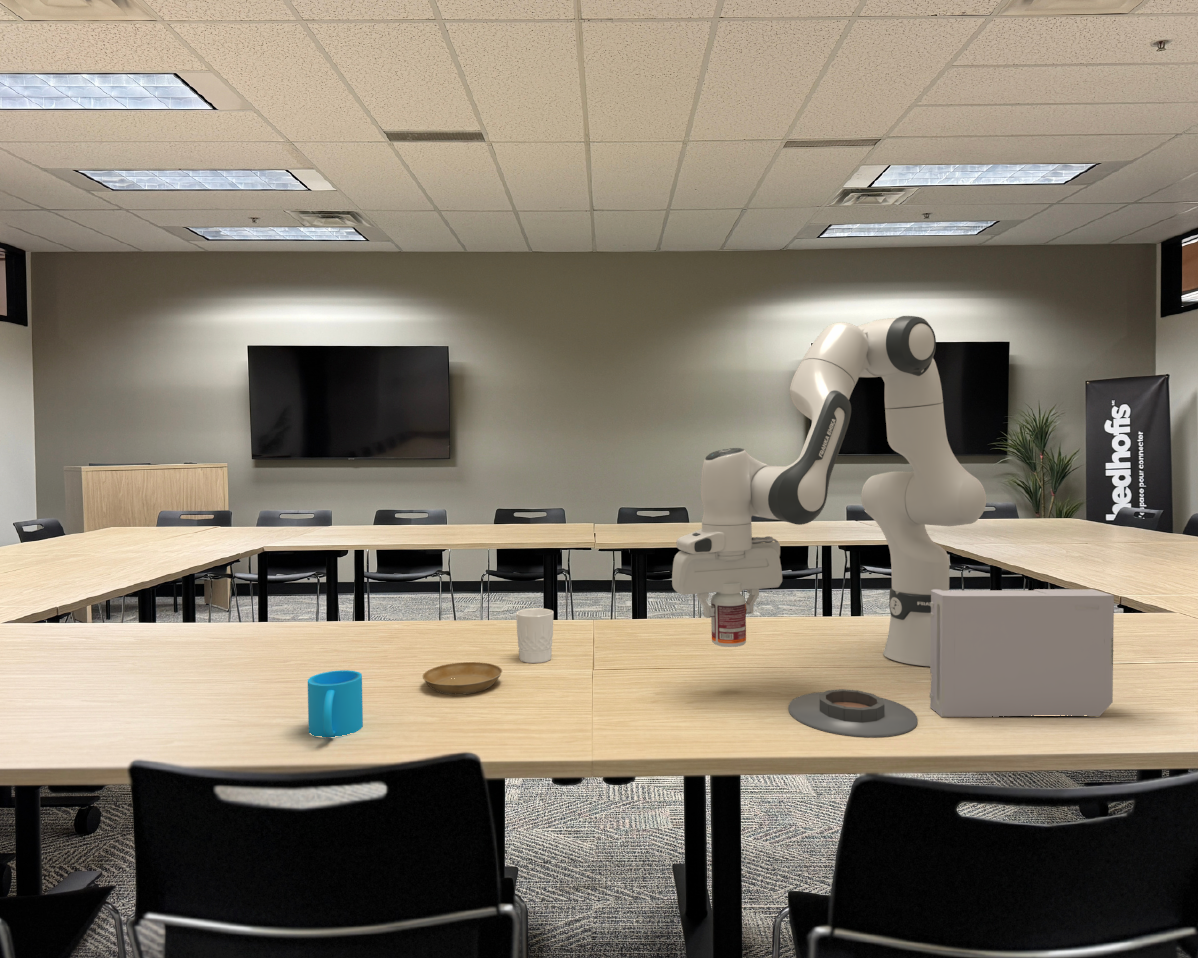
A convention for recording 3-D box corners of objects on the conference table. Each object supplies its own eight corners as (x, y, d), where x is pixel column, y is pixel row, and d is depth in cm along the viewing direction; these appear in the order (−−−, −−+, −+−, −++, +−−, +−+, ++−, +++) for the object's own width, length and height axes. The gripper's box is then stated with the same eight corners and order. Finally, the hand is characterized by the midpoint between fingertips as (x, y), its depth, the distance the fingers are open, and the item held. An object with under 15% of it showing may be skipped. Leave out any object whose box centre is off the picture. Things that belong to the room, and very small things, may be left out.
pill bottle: (753, 644, 132) (752, 581, 132) (727, 649, 129) (727, 585, 128) (729, 637, 137) (728, 577, 137) (704, 642, 134) (703, 580, 134)
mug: (314, 721, 120) (313, 671, 120) (366, 717, 122) (365, 668, 121) (298, 750, 108) (296, 695, 108) (355, 745, 110) (354, 691, 110)
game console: (926, 705, 125) (926, 589, 125) (1089, 705, 124) (1090, 588, 124) (940, 717, 119) (941, 595, 119) (1112, 718, 118) (1114, 595, 118)
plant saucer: (406, 694, 134) (406, 680, 134) (449, 671, 148) (449, 658, 148) (478, 702, 129) (478, 688, 129) (515, 678, 143) (515, 665, 143)
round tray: (868, 690, 133) (868, 676, 133) (945, 729, 114) (945, 713, 114) (767, 700, 128) (767, 685, 128) (830, 743, 109) (830, 726, 109)
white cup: (509, 662, 154) (509, 614, 153) (527, 652, 161) (527, 607, 161) (543, 665, 151) (543, 617, 150) (560, 655, 158) (559, 609, 158)
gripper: (771, 533, 138) (772, 606, 138) (668, 540, 133) (669, 615, 134) (787, 537, 132) (789, 614, 132) (680, 544, 127) (682, 623, 127)
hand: (728, 615), depth 133 cm, fingers closed on pill bottle, 6 cm apart
